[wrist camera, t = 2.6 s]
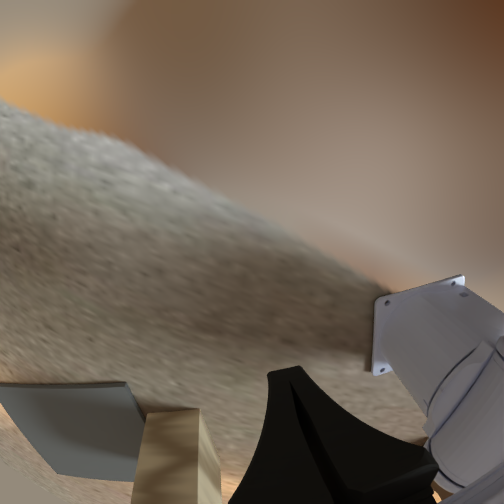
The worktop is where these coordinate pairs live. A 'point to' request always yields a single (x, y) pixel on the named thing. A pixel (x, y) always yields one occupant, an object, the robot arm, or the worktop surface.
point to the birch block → (177, 461)
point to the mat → (79, 427)
